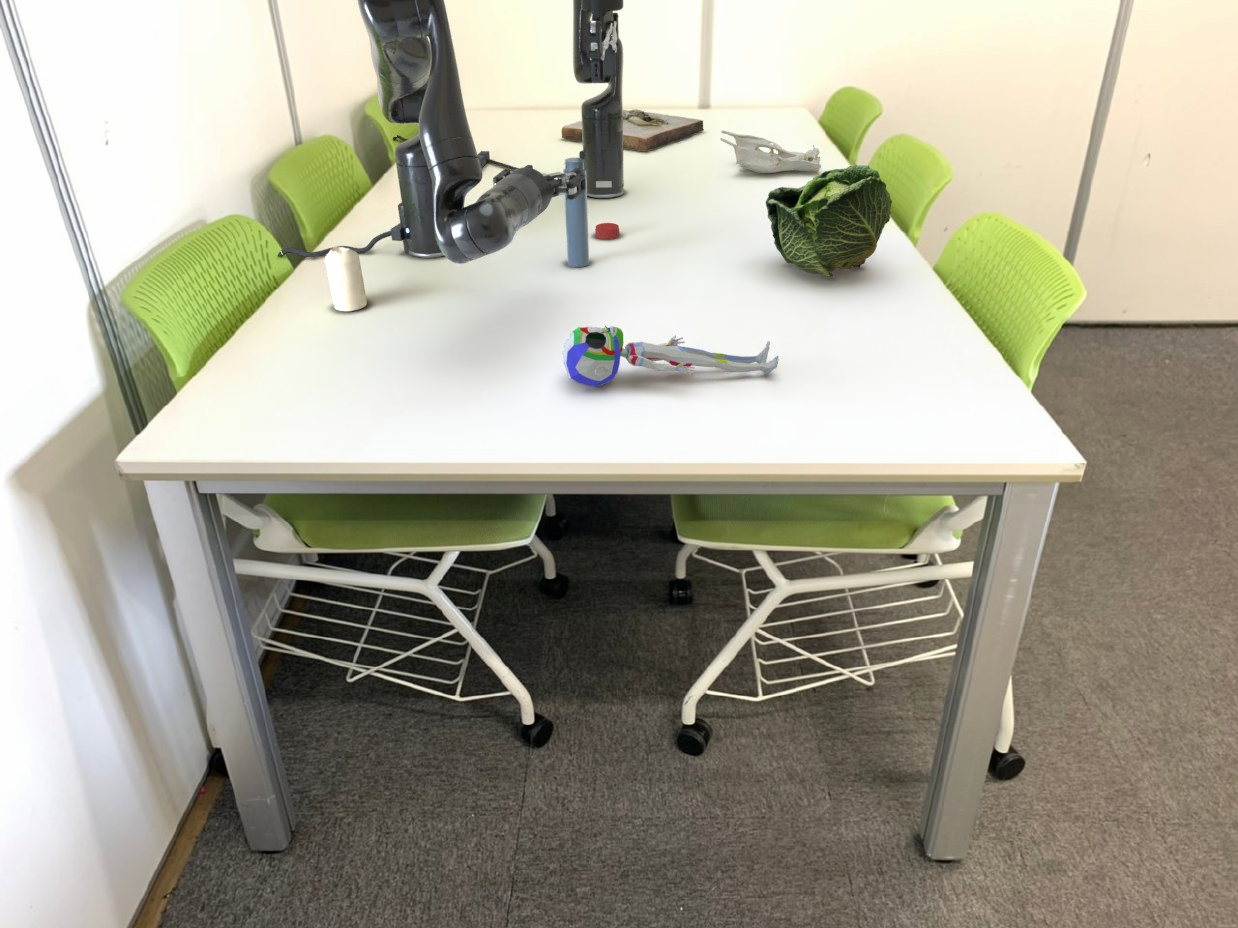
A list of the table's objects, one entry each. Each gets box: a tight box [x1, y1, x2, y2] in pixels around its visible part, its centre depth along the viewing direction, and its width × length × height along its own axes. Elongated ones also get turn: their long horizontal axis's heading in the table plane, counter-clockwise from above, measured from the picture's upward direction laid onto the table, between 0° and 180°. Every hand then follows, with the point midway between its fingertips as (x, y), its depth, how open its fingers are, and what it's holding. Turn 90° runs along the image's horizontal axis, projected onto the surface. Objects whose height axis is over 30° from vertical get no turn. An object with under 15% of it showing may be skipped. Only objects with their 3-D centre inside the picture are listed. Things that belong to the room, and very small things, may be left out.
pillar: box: [477, 150, 491, 169], centre depth 228 cm, size 2×2×20 cm
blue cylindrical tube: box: [562, 157, 590, 268], centre depth 164 cm, size 4×4×19 cm
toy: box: [561, 325, 780, 387], centre depth 127 cm, size 10×8×30 cm
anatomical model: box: [720, 130, 822, 174], centre depth 222 cm, size 15×9×25 cm
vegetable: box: [765, 164, 893, 278], centre depth 160 cm, size 20×19×20 cm
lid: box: [594, 222, 620, 240], centre depth 182 cm, size 5×5×2 cm
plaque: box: [561, 108, 705, 152], centre depth 257 cm, size 30×7×30 cm
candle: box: [324, 246, 368, 312], centre depth 150 cm, size 6×6×10 cm
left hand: (554, 172), depth 150 cm, fingers open, 8 cm apart
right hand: (604, 78), depth 167 cm, fingers open, 8 cm apart
